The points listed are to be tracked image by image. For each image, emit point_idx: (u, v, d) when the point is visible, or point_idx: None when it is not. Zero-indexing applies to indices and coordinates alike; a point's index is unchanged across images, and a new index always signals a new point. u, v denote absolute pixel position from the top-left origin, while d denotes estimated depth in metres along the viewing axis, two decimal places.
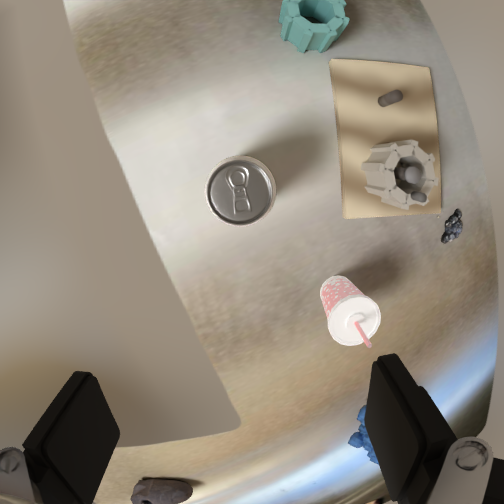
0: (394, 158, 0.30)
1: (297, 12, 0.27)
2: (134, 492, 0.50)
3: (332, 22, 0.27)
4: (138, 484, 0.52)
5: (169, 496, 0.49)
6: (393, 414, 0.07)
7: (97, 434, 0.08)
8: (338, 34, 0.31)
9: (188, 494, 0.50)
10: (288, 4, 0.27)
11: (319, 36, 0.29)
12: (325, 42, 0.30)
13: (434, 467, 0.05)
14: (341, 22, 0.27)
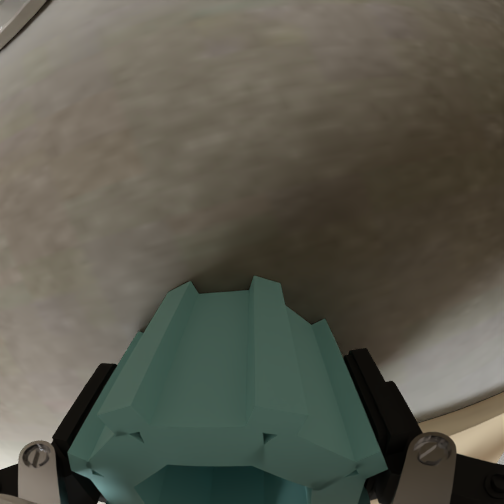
0: None
1: None
2: None
3: None
4: None
5: None
6: None
7: None
8: None
9: None
10: (97, 483, 0.05)
11: None
12: None
13: (396, 460, 0.06)
14: None
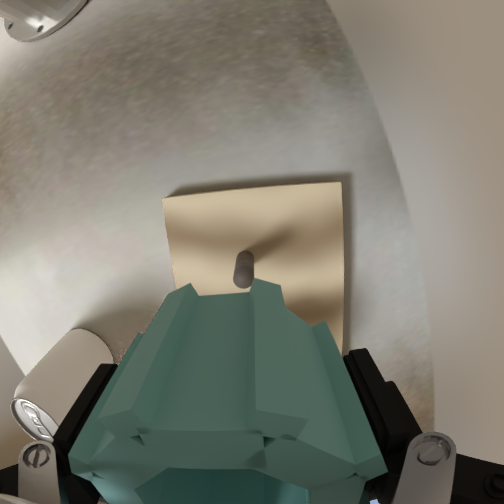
0: None
1: None
2: None
3: None
4: None
5: None
6: None
7: None
8: None
9: None
10: (98, 485, 0.05)
11: None
12: None
13: (396, 460, 0.06)
14: None
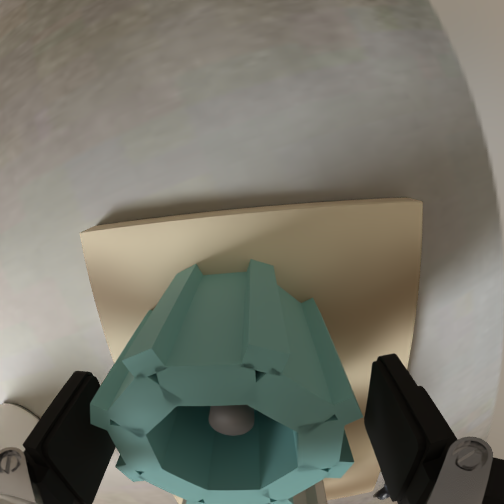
0: None
1: (152, 462, 0.08)
2: None
3: (282, 484, 0.08)
4: None
5: None
6: (393, 414, 0.07)
7: (97, 434, 0.08)
8: None
9: None
10: (113, 435, 0.07)
11: None
12: None
13: (433, 467, 0.05)
14: (317, 479, 0.08)
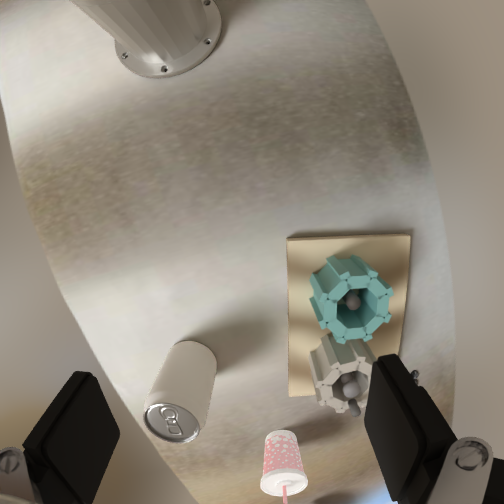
0: (334, 375, 0.30)
1: (334, 315, 0.28)
2: None
3: (371, 324, 0.29)
4: None
5: None
6: (393, 414, 0.07)
7: (97, 434, 0.08)
8: None
9: None
10: (325, 304, 0.28)
11: None
12: None
13: (434, 467, 0.05)
14: (381, 322, 0.29)
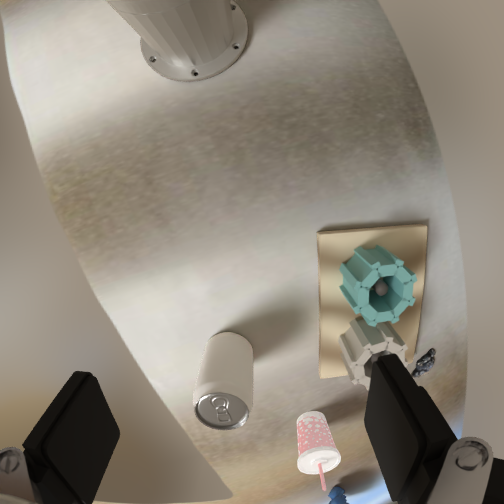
0: (366, 355, 0.33)
1: (366, 301, 0.31)
2: None
3: (398, 307, 0.31)
4: None
5: None
6: (393, 414, 0.07)
7: (97, 434, 0.08)
8: None
9: None
10: (359, 291, 0.31)
11: None
12: None
13: (434, 467, 0.05)
14: (406, 305, 0.31)
